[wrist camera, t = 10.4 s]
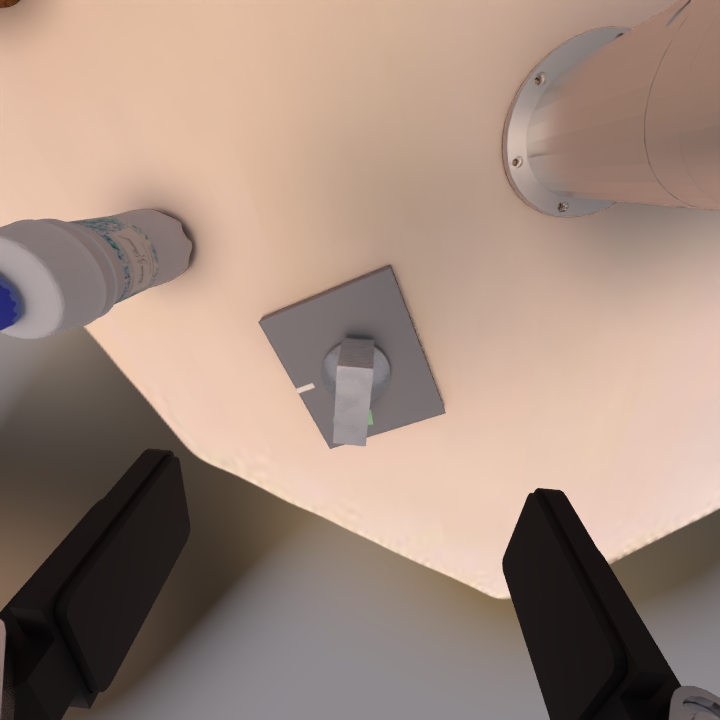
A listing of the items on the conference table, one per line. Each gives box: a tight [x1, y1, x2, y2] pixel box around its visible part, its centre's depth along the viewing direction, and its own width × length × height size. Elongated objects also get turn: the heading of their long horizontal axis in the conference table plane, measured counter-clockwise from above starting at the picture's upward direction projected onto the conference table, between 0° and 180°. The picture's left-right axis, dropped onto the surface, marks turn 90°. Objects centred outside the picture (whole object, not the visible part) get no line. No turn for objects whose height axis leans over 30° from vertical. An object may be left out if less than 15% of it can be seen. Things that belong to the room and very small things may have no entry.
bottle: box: [0, 209, 192, 339], centre depth 26 cm, size 7×7×20 cm
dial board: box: [259, 265, 446, 449], centre depth 39 cm, size 14×17×2 cm
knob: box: [322, 338, 390, 446], centre depth 36 cm, size 7×10×7 cm, turn 176°
